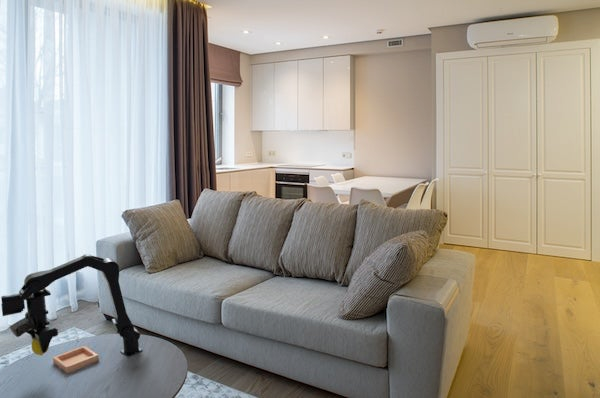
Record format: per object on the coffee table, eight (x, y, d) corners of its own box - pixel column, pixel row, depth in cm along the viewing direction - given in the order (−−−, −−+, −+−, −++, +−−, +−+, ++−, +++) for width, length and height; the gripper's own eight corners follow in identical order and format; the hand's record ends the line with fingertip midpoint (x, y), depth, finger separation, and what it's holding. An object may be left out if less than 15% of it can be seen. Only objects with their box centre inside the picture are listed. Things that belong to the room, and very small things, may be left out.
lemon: (47, 350, 163) (45, 329, 162) (52, 355, 160) (50, 334, 158) (30, 355, 160) (28, 334, 158) (35, 360, 156) (32, 339, 155)
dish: (98, 360, 171) (98, 354, 171) (66, 373, 162) (66, 367, 162) (84, 351, 179) (84, 345, 179) (53, 363, 170) (52, 357, 169)
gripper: (1, 309, 157) (6, 350, 159) (21, 323, 145) (25, 367, 147) (36, 300, 165) (40, 339, 168) (56, 312, 154) (60, 354, 156)
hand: (40, 350), depth 159 cm, fingers closed on lemon, 5 cm apart
